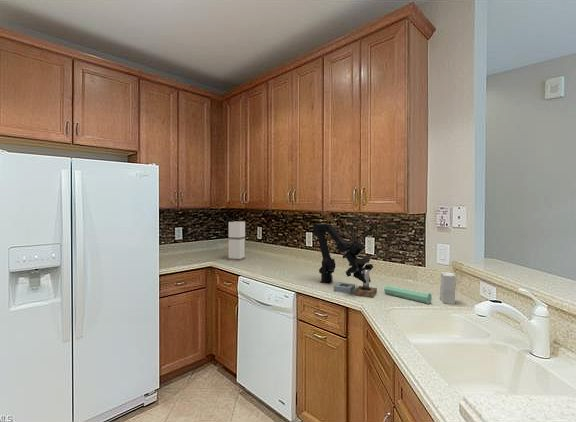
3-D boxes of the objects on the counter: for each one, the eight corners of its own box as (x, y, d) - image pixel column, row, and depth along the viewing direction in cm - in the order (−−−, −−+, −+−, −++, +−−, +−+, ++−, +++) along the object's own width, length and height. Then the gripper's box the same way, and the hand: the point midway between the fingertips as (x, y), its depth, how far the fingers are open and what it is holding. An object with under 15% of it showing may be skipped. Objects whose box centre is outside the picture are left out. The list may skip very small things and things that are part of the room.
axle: (362, 294, 169) (362, 270, 169) (363, 293, 172) (363, 268, 172) (368, 295, 168) (368, 270, 167) (369, 293, 171) (369, 269, 170)
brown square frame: (354, 295, 168) (354, 290, 168) (359, 290, 177) (359, 285, 177) (372, 297, 163) (372, 292, 163) (376, 293, 172) (376, 288, 172)
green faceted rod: (383, 283, 172) (428, 291, 153) (388, 285, 175) (432, 294, 157) (381, 293, 170) (426, 303, 152) (386, 295, 174) (430, 305, 155)
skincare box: (439, 298, 163) (439, 271, 162) (451, 299, 161) (452, 272, 161) (442, 303, 155) (443, 274, 154) (455, 304, 153) (456, 275, 153)
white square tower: (245, 259, 278) (245, 221, 278) (239, 261, 268) (239, 222, 267) (234, 258, 282) (234, 221, 281) (228, 260, 272) (228, 221, 271)
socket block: (333, 291, 176) (333, 286, 176) (339, 287, 184) (339, 282, 184) (350, 293, 171) (350, 288, 171) (355, 289, 180) (355, 284, 180)
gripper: (349, 253, 167) (365, 276, 158) (371, 250, 178) (386, 272, 169) (339, 264, 174) (353, 288, 165) (360, 261, 185) (375, 282, 176)
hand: (367, 282), depth 169 cm, fingers closed on axle, 3 cm apart
